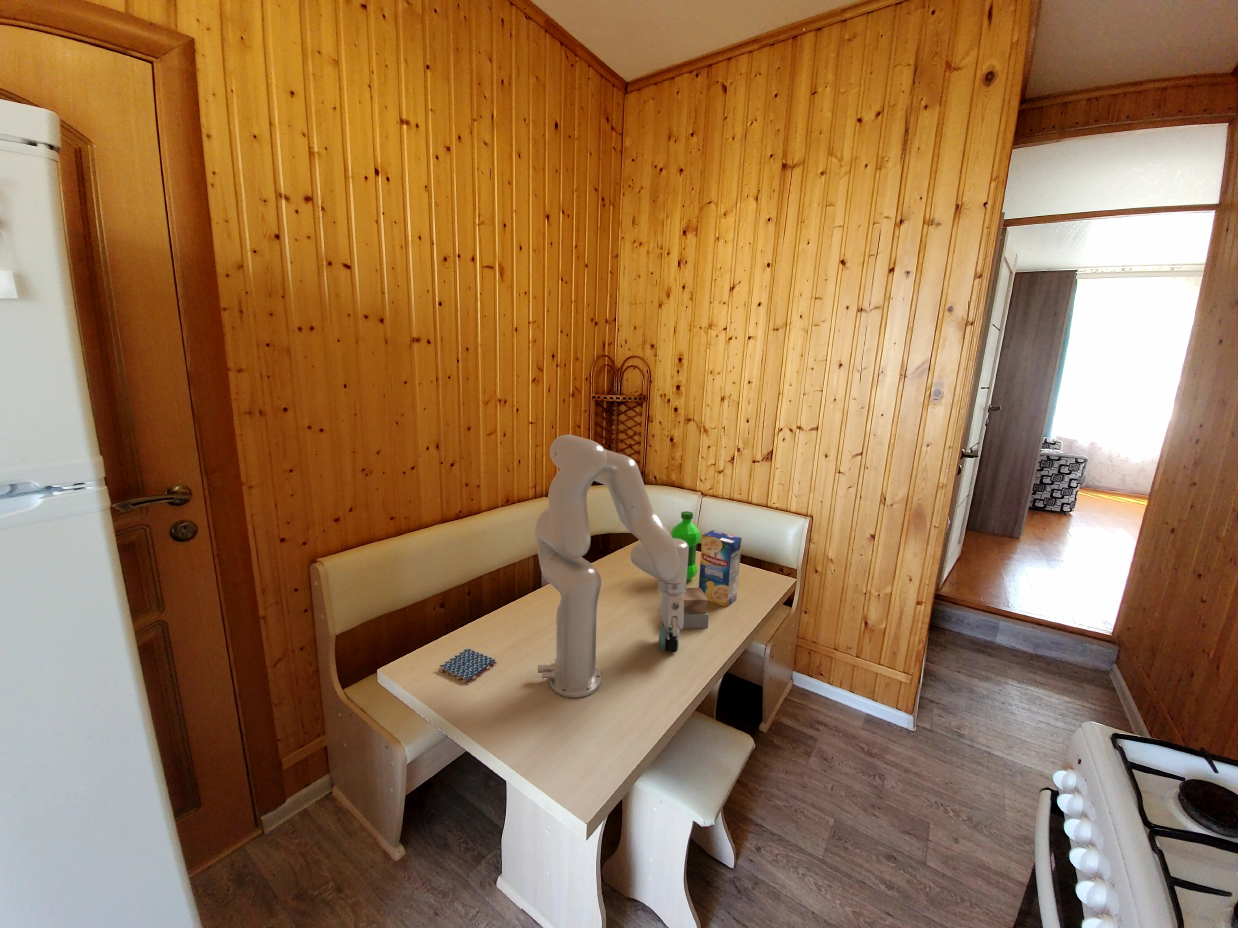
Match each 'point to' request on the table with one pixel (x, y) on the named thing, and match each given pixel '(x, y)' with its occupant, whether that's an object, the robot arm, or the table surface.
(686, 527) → the green soda bottle
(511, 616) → the table surface
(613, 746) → the table surface
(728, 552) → the beverage box
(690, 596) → the tower top
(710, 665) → the table surface
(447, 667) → the woven mat
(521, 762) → the table surface
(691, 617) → the tower base
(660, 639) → the blue egg-shaped pebble
